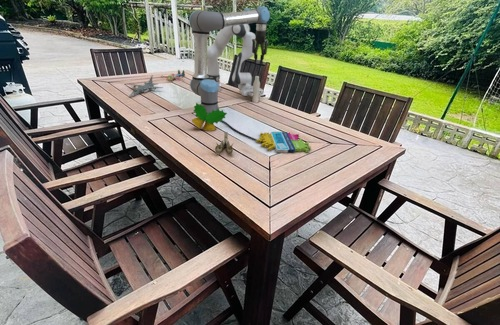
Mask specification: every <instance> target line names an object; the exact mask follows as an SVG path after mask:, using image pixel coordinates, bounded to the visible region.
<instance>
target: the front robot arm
mask: <svg viewBox="0 0 500 325" xmlns="http://www.w3.org/2000/svg"><path fill="white" fill-rule="evenodd" d="M270 18H271V13H270V11H269V9H268V7H266V6H257V8H244V9H243V10H242V11H234V12H233V11H232V12H222V11H211V10H210V11H209V10H201V9H198V10H194V11H192V13H191V14H189V19H188V23H189V26H190V28H191V34H192V35H193V40H194V41H193V42H194V44H193V47H194V48H193V49H194V51H193V52H194V53H193V54H194V57H193V58H194V59H193V60H194V62H193V63H194V65H193V66H194V72H193V74H192V79H191V80H190V83H189V87H190V90H191V91H192V92H193V93H194V94H195V95H197V96H199V97H200V104H201V106H204V109H206V112H208V113H211V112H212V110H214V111H216V110H217V109H219V111H221V110H220V108H219V102H218V99H219V98H218V97H219V91H218V85H217V83H216V82H215V81H213V80H209V76H208V75H207V47H208V38H209V36H210V35H211V32H214V31H220V30H221V29H224V27H228V26H235V25H242V24H249V25H250V24H255V23H256V24H255V25H256V27H255V30H256V31H255V37H256V38H255V39H252V42H253V44H252V53H254V55H253V59H254V64H257V63H256V60H258V56H259V54H258V50H259V47H260V52H261V54H260V58H259V60H260V64H259V65H263V61H264V59H265V55H267V54H268V46H269V45H268V44H269V40H267V39H266V35H267V23H268V21H269V20H270ZM255 41H256V47H255ZM208 113H207V115H208ZM222 123H224V124H225V125H226V126H227V127H228V128H230V129H231V130H232V131H234V132H236V133H238V134H240V135H242V136H243V137H246V138H248V139H251V140H253V141H255V142H256V141H257V139H258V138H255V137H252V136H249V135H248V134H245V133H243V132H241V131H239V130H238V129H236V128H234V127H233V126H231V125H230V124H229V123H228V122H226V121H225V120H223V119H222ZM262 143H263V142H260V143H259V144H262Z"/></svg>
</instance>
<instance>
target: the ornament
mask: <svg viewBox="0 0 500 325" xmlns="http://www.w3.org/2000/svg"><path fill="white" fill-rule="evenodd" d="M219 110H220V108H219V109H217V110H216V111H214V110H212V112H211V113H208V112H206V109H204V106H201V103H198V102H195V105H194V106H193V112H194V113H195V118H192V119H191V122H192V123H193V125H195V127H197V128H198V129H202V130H203V131H206V132H212V131H213V132H214V131H215V130H216V126H215V124H218V123H219V122H222V120H223V119H226V115H227V114H228V113H227V112H224V110H223V109H221V110H220V111H219ZM207 113H208V115H207ZM214 123H215V124H214ZM222 123H223V122H222Z"/></svg>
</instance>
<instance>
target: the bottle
mask: <svg viewBox="0 0 500 325" xmlns="http://www.w3.org/2000/svg"><path fill="white" fill-rule="evenodd" d="M252 86H253V94H254V95H253V96H252V98H251V102H252V103H259V102H260V95H259V90H260V88H261V82H260V76H259V75H255V76H254V80H253V82H252Z"/></svg>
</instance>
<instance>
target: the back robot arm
mask: <svg viewBox="0 0 500 325" xmlns="http://www.w3.org/2000/svg"><path fill="white" fill-rule="evenodd" d="M234 36H235V37H238V38H240V39H242V48H241V50H240V52H239V53H238V54H237V57H236V61H235V65H234V69H233V73H232V76H231V81H232V83H233V84H234V85H238V86H237V88H238V90H239V91H238V92H239V93H240V94H241V96H244V97H251V96H252V97H253V95H254V94H253V83H254V77H253V75H252V73H251V72H241V68H242V64H243V63H244V62H245V61H246V60H248V59H251V58H252V57H254V53H252V44H253V42H252V39H255V38H256V33H254V32H252V31H251V25H250V24H242V25H235V26H228V27H224V29H220V30H218V32H217V34H216V36H215V38H214V41H213V43H212V44H211V45H207V75H208V76H209V80H213V81H215V82H216V83H217V85H218V92H220V91H222V87H221V80H220V79H221V75H220V65H219V62H218V61H219V60H218V58H220V57H221V56H222V55H223V52H224V51H225V48H226V47H227V45H228V43H229V42H230V40H231V39H232V38H233V37H234ZM255 47H256V41H255ZM264 92H265V90H264V89H263V88H261V87H260V90H259V96H261V95H264Z"/></svg>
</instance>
